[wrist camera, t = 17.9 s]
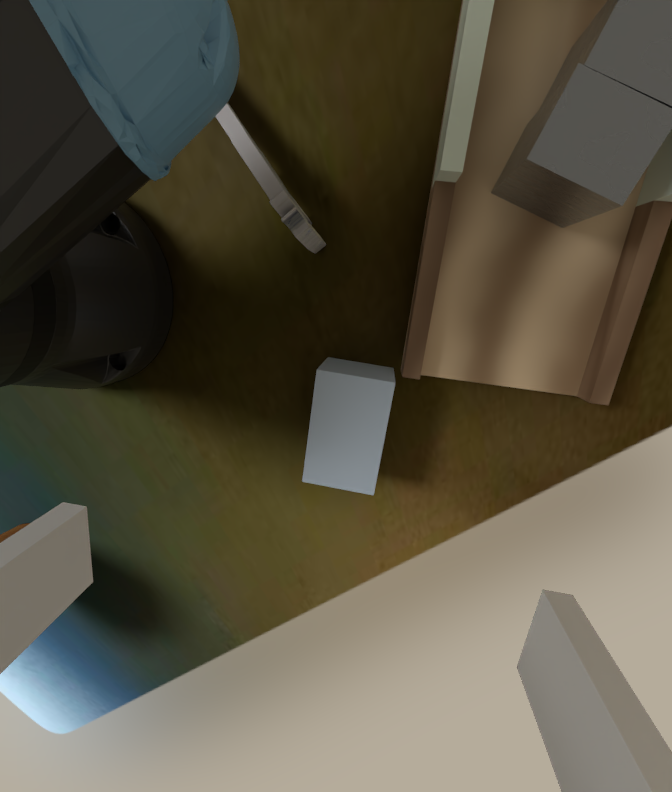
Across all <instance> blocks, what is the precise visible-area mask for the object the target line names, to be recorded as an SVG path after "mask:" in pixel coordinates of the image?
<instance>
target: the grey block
mask: <svg viewBox="0 0 672 792" xmlns="http://www.w3.org/2000/svg"><path fill="white" fill-rule="evenodd" d="M394 388H395V375H394V368H392V367H385V366H379V365H373V364H367V363H361V362H355V361H349V360H343V359H337V358H331V357H327V359H326V360H325V361H324V362H323V363H322V364H321V365H320V366H319V368H318V369H317V371H316V379H315V386H314V394H313V402H312V409H311V417H310V425H309V433H308V440H307V448H306V456H305V463H304V471H303V479H302V482H307V483H312V484H317V485H322V486H327V487H333V488H338V489H343V490H348V491H353V492H358V493H364V494H369V495H374V491H375V486H376V481H377V476H378V470H379V465H380V460H381V455H382V450H383V445H384V440H385V434H386V429H387V424H388V419H389V414H390V409H391V403H392V398H393V393H394Z"/></svg>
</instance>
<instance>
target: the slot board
mask: <svg viewBox="0 0 672 792" xmlns="http://www.w3.org/2000/svg"><path fill="white" fill-rule="evenodd" d="M607 1H608V0H495V1H494V6H493V11H492V17H491V22H490V27H489V33H488V38H487V43H486V49H485V54H484V60H483V65H482V70H481V76H480V81H479V86H478V92H477V97H476V103H475V108H474V113H473V119H472V124H471V129H470V135H469V140H468V146H467V151H466V156H465V162H464V167H463V172H462V174H461V175H460V177H459V178H458V180H457V181H456V182H446V181H435V182H434V184H433V178H434V172H435V166H436V160H437V154H438V148H439V142H440V136H441V130H442V124H443V118H444V112H445V106H446V100H447V94H448V88H449V82H450V76H451V71H452V65H453V59H454V53H455V47H456V41H457V35H458V29H459V23H460V17H461V11H462V5H463V0H462V4H461V10H460V16H459V22H458V28H457V34H456V40H455V46H454V52H453V58H452V64H451V70H450V76H449V82H448V88H447V94H446V100H445V106H444V112H443V118H442V124H441V130H440V136H439V142H438V148H437V154H436V160H435V166H434V172H433V178H432V184H433V187H432V184H431V190H430V196H429V202H428V208H427V214H426V220H425V226H424V232H423V238H422V244H421V250H420V256H419V262H418V268H417V274H416V280H415V286H414V292H413V298H412V304H411V310H410V316H409V322H408V328H407V334H406V340H405V346H404V352H403V358H402V364H401V374H402V377H406V378H413V379H420V376H421V375H425V376H432V377H439V378H447V379H454V380H461V381H469V382H476V383H483V384H491V385H498V386H505V387H513V388H520V389H527V390H535V391H542V392H549V393H557V394H564V395H571V396H577V397H579V398H581V399H583V400H585V401H587V402H589V403H594V404H602V405H609V402H610V399H611V397H612V394H613V391H614V388H615V385H616V382H617V379H618V376H619V373H620V370H621V367H622V364H623V361H624V358H625V355H626V352H627V349H628V346H629V343H630V340H631V337H632V334H633V331H634V328H635V326H636V323H637V320H638V317H639V314H640V311H641V308H642V305H643V302H644V299H645V296H646V293H647V290H648V287H649V284H650V281H651V278H652V275H653V272H654V269H655V266H656V263H657V260H658V257H659V255H660V252H661V249H662V246H663V243H664V240H665V237H666V234H667V231H668V228H669V225H670V222H671V219H672V202H668V201H656V200H654V201H651V202H648V203H645V204H642V205H639V206H637V207H636V204H637V201H638V198H639V194H640V191H641V188H642V185H643V181H644V178H645V175H646V172H647V169H648V167H647V168H646V170H645V171H644V173H643V175H642V176H641V178H640V179H639V181H638V182H637V184H636V185H635V187H634V189H633V190H632V192H631V193H630V195H629V196H628V198H627V200H626V201H625V203H624V204H623V206H621V207H618V208H616V209H613V210H610V211H607V212H605V213H602V214H599V215H597V216H594V217H591V218H588V219H586V220H583V221H580V222H578V223H575V224H572V225H570V226H567V227H564V228H561V227H559V226H557V225H555V224H553V223H551V222H549V221H547V220H545V219H543V218H541V217H539V216H537V215H535V214H533V213H531V212H529V211H526V210H524V209H522V208H520V207H518V206H516V205H514V204H512V203H510V202H508V201H506V200H504V199H502V198H500V197H498V196H496V195H494V194H492V193H491V191H492V190H493V188H494V186H495V184H496V182H497V180H498V178H499V176H500V174H501V173H502V171H503V169H504V167H505V165H506V163H507V161H508V159H509V157H510V156H511V154H512V152H513V150H514V148H515V146H516V144H517V142H518V140H519V139H520V137H521V135H522V133H523V131H524V129H525V127H526V125H527V124H528V122H529V121H530V120H531V119H532V118H533V117H534V115H535V114H536V113H537V112H538V111H539V109H540V107H541V105H542V103H543V101H544V99H545V97H546V96H547V94H548V92H549V90H550V88H551V86H552V84H553V82H554V80H555V78H556V76H557V74H558V72H559V70H560V69H561V67H562V65H563V63H564V61H565V59H566V57H567V55H568V53H569V51H570V49H571V48H572V46H573V45H574V44H575V42H576V41H577V40H578V39H579V37H580V36H581V35H582V33H583V32H584V31H585V29H586V28H587V27H588V25H589V24H590V23H591V21H592V20H593V19H594V18H595V16H596V15H597V14H598V12H599V11H600V10H601V8H602V7H603V6H604V4H605V3H606V2H607Z"/></svg>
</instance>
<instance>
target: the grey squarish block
mask: <svg viewBox="0 0 672 792" xmlns="http://www.w3.org/2000/svg"><path fill="white" fill-rule="evenodd" d="M671 129H672V108H670V107H668V106H666V105H664V104H662V103H660V102H658V101H656V100H654V99H652V98H650V97H648V96H645V95H643V94H641V93H639V92H637V91H635V90H633V89H631V88H629V87H627V86H625V85H623V84H621V83H619V82H617V81H615V80H613V79H611V78H609V77H607V76H605V75H603V74H601V73H599V72H597V71H595V70H592V69H590V68H588V67H586V66H584V65H582V64H580V63H578V65H577V66H576V67H575V68H574V69H573V70H572V72H571V73H570V74H569V75H568V76H567V78H566V79H565V80H564V81H563V82H562V83H561V85H560V86H559V87H558V88H557V89H556V91H555V92H554V93H553V94H552V95H551V96H550V98H549V99H548V100H547V101H546V102H545V104H544V105H543V106H542V107H541V108H540V109H539V111H538V112H537V113H536V114H535V115H534V117H533V118H532V119H531V120H530V121H529V122H528V124H527V125H526V127H525V129H524V131H523V133H522V135H521V137H520V139H519V140H518V142H517V144H516V146H515V148H514V150H513V152H512V154H511V156H510V157H509V159H508V161H507V163H506V165H505V167H504V169H503V171H502V173H501V174H500V176H499V178H498V180H497V182H496V184H495V186H494V188H493V190H492V191H491V193H492V194H494V195H496V196H498V197H500V198H502V199H504V200H506V201H508V202H510V203H512V204H514V205H516V206H518V207H520V208H522V209H524V210H526V211H529V212H531V213H533V214H535V215H537V216H539V217H541V218H543V219H545V220H547V221H549V222H551V223H553V224H555V225H557V226H559V227H561V228H564V227H567V226H570V225H572V224H575V223H578V222H580V221H583V220H586V219H588V218H591V217H594V216H597V215H599V214H602V213H605V212H607V211H610V210H613V209H616V208H618V207H621V206H623V204H624V203H625V201H626V200H627V198H628V196H629V195H630V193H631V192H632V190H633V189H634V187H635V185H636V184H637V182H638V181H639V179H640V178H641V176H642V175H643V173H644V171H645V170H646V168H647V167H648V165H649V164H650V162H651V160H652V159H653V157H654V156H655V154H656V153H657V151H658V149H659V148H660V146H661V145H662V143H663V142H664V140H665V139H666V137H667V135H668V134H669V132H670V131H671Z"/></svg>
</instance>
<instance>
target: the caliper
mask: <svg viewBox="0 0 672 792" xmlns="http://www.w3.org/2000/svg"><path fill="white" fill-rule="evenodd" d="M215 117H216V118H217V119H218V121H219V122H220V124H221V125H222V127H223V128H224V130H225V131H226V133H227V134H228V136H229V137H230V139H231V140H232V141H231V142H232V143H233V145H234V146H235V148H236V149H237V151H238V152H239V154H240V155H241V157H242V158H243V160H244V161H245V163H246V164H247V166H248V167H249V169H250V170H251V172H252V173H253V175H254V176H255V178H256V179H257V181H258V182H259V184H260V185H261V187H262V188H263V190H264V191H265V193H266V194H267V196H268V197H269V199H270V200H271V201H270V202H269V203H270V204H271V205H272V206H273V208H274V209H275V210H276V211H277V212H278V214H279V215H280V216H281V217H282V218H281V220H282V222H283V223H284V224H285V225H286V226H287V227H288V228H289V229H290V230H291V231H292V233H293V234H294V236H295V237H296V238H297V239H298V240H299V241H300V242H301V243H302V244H303V245H304V246H305V247H306V248H307V249H308V250H310V251H311V252H313V253H315V254H316V253H317V252H318V251H320V250H321V249H322V248H323V247H325V246H326V243H325V241H324V240H323V239H322V237H321V236H320V235H319V234H318V233H317V232H316V230H315V229H314V228H313V227H312V226H311V225H312V222H311V221H310V219H309V218H308V217H307V215H306V214H305V213H304V211H303V210H302V209H301V207H300V206H299V205H298V204H297V202H296V201H295V200H294V198H293V197H292V196H291V195H290V193H289V192H288V190H287V189H286V187H285V186H284V185H283V183H282V181H281V180H280V178H279V176H278V175H277V173H276V172H275V170H274V169H273V168H272V166H271V165H270V163H269V162H268V160H267V158H266V157H265V155H264V154H263V153H262V151H261V150H260V149H259V148H258V146H257V145H256V143H255V142H254V140H253V139H252V137H251V136H250V134H249V133H248V132H247V130H246V129H245V127H244V126H243V124H242V123H241V121H240V120H239V118H238V117H237V115H236V114H235V112H234V111H233V109H232V108H231V106H230V105H229V103H228V102H227V104H226V105H225V106H224V108H223V109H222V110H221V111H220V112H219V113H218V114H217V115H216V116H215Z"/></svg>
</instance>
